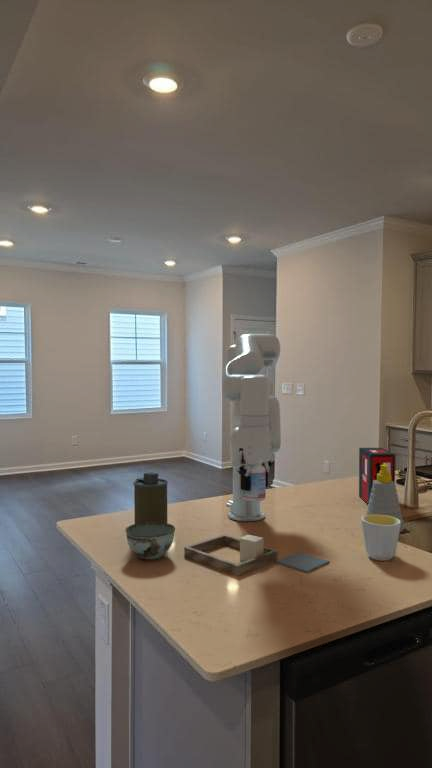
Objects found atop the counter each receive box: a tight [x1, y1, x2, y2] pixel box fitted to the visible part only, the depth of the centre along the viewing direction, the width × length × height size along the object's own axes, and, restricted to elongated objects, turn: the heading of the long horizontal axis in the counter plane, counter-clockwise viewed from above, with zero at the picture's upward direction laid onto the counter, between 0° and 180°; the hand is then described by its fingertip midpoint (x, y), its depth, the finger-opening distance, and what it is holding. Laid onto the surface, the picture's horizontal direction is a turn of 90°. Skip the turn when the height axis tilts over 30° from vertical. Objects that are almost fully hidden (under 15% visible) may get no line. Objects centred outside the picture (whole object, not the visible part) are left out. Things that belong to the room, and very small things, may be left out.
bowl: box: [124, 522, 176, 562], centre depth 146 cm, size 14×13×8 cm
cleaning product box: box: [358, 447, 396, 506], centre depth 204 cm, size 16×9×20 cm, turn 179°
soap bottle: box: [366, 463, 405, 533], centre depth 172 cm, size 12×12×20 cm
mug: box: [361, 514, 401, 562], centre depth 147 cm, size 14×10×10 cm
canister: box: [132, 471, 169, 524], centre depth 162 cm, size 11×10×20 cm
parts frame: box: [183, 534, 279, 577], centre depth 145 cm, size 20×16×2 cm
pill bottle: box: [243, 459, 267, 502], centre depth 143 cm, size 6×6×11 cm
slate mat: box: [275, 551, 330, 574], centre depth 141 cm, size 10×10×1 cm
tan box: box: [239, 534, 265, 562], centre depth 143 cm, size 5×4×6 cm
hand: (254, 487), depth 143 cm, fingers closed on pill bottle, 6 cm apart
